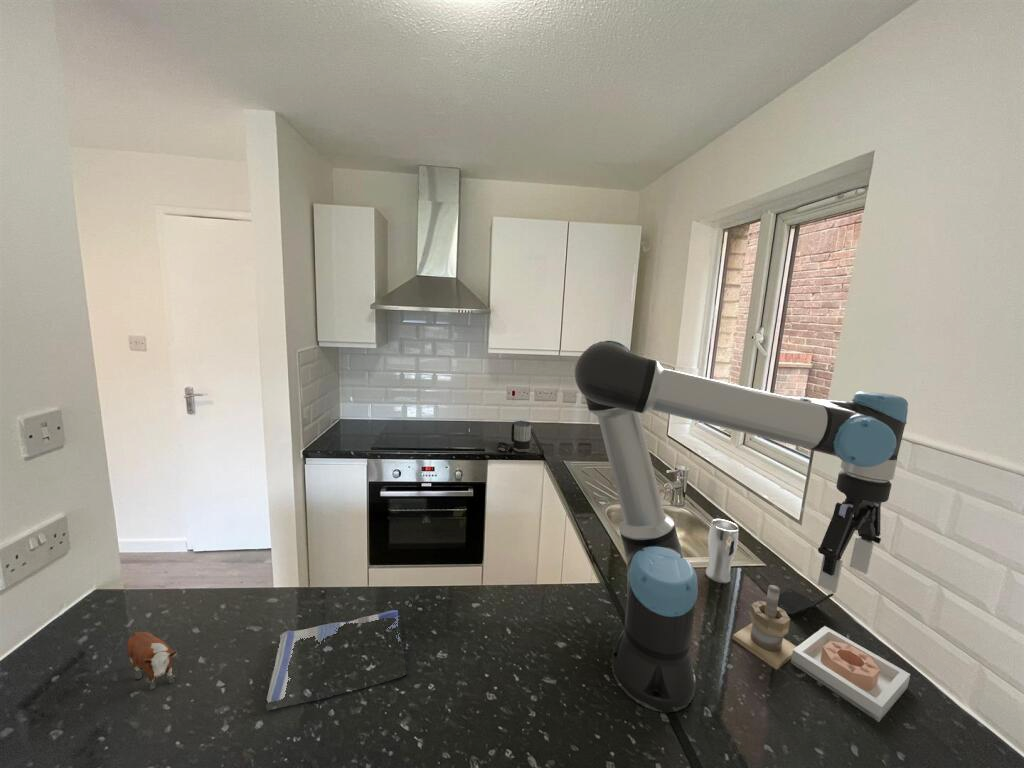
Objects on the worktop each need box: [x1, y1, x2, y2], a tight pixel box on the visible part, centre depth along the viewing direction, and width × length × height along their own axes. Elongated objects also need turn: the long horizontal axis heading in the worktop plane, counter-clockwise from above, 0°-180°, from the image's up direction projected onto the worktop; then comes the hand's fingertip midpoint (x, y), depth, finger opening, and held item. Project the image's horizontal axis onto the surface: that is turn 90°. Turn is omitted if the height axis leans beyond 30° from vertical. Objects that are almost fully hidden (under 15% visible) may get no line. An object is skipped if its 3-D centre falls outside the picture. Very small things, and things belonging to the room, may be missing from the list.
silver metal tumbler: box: [705, 518, 740, 584], centre depth 109 cm, size 7×7×15 cm
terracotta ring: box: [821, 641, 880, 691], centre depth 79 cm, size 8×8×3 cm
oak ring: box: [749, 600, 791, 637], centre depth 85 cm, size 6×6×3 cm
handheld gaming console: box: [777, 588, 834, 620], centre depth 98 cm, size 12×7×10 cm
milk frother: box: [496, 420, 532, 449], centre depth 208 cm, size 14×16×15 cm
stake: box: [732, 584, 798, 670], centre depth 85 cm, size 9×9×14 cm
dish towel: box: [266, 609, 401, 703], centre depth 78 cm, size 17×24×3 cm
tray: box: [790, 625, 911, 723], centre depth 80 cm, size 14×14×3 cm
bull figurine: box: [126, 631, 179, 683], centre depth 71 cm, size 4×13×8 cm, turn 58°
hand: (843, 578), depth 79 cm, fingers open, 13 cm apart
